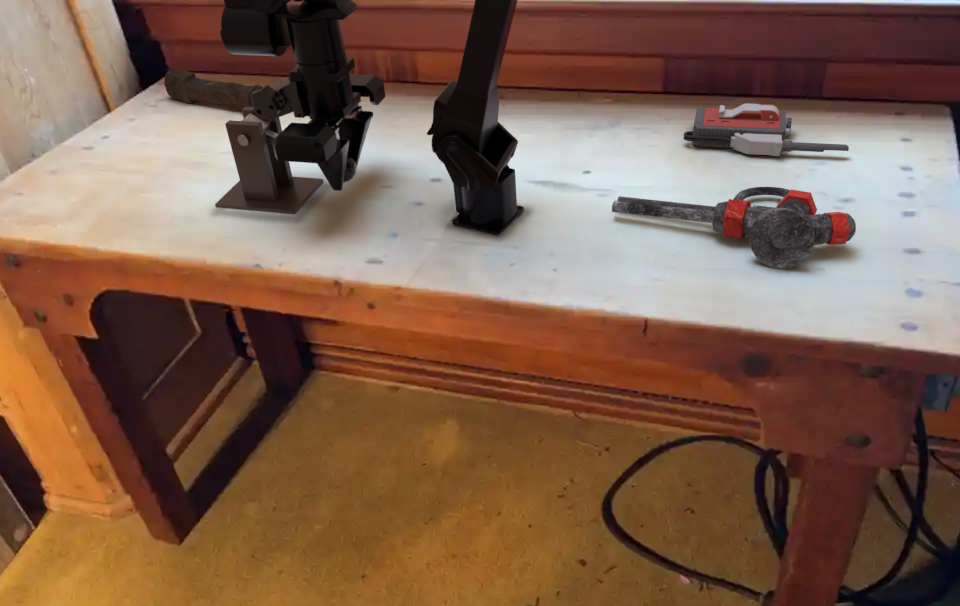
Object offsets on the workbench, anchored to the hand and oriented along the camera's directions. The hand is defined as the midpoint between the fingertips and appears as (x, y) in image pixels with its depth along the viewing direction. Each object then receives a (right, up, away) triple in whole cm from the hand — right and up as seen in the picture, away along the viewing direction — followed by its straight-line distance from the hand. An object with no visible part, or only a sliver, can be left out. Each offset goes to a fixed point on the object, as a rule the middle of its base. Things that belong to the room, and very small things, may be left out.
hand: (344, 182), depth 110 cm
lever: (-6, +3, 0) cm, 6 cm away
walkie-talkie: (+53, +6, +7) cm, 54 cm away
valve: (+45, -6, -8) cm, 46 cm away
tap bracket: (-10, -1, +5) cm, 11 cm away
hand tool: (-25, +18, +32) cm, 44 cm away
